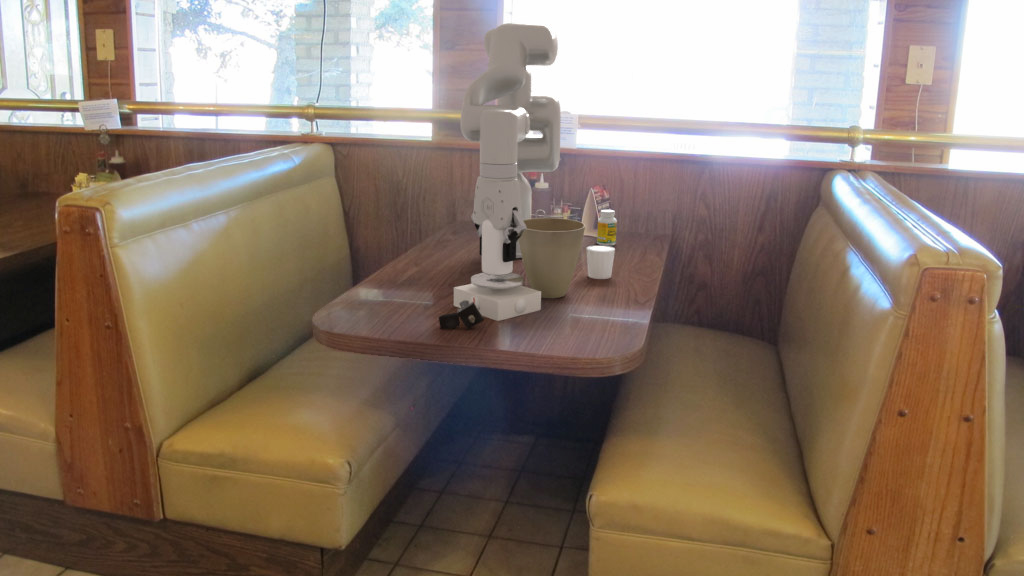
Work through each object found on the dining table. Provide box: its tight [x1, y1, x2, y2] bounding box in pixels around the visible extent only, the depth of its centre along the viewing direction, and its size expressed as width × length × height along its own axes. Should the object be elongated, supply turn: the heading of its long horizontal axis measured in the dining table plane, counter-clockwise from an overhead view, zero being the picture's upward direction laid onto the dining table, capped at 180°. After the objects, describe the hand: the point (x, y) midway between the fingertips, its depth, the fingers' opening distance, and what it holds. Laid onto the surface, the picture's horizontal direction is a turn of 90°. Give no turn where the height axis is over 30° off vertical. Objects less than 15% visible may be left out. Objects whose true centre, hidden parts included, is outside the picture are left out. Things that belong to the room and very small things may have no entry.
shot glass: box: [586, 244, 616, 280], centre depth 203 cm, size 7×7×7 cm
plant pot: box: [519, 217, 586, 299], centre depth 186 cm, size 15×15×16 cm
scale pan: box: [470, 272, 525, 289], centre depth 176 cm, size 11×11×2 cm
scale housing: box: [453, 283, 542, 322], centre depth 176 cm, size 14×12×4 cm
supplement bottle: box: [596, 209, 618, 247], centre depth 238 cm, size 5×5×10 cm
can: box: [481, 217, 514, 276], centre depth 174 cm, size 6×6×12 cm
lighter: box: [438, 300, 485, 330], centre depth 163 cm, size 8×2×5 cm
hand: (497, 257), depth 174 cm, fingers closed on can, 6 cm apart
